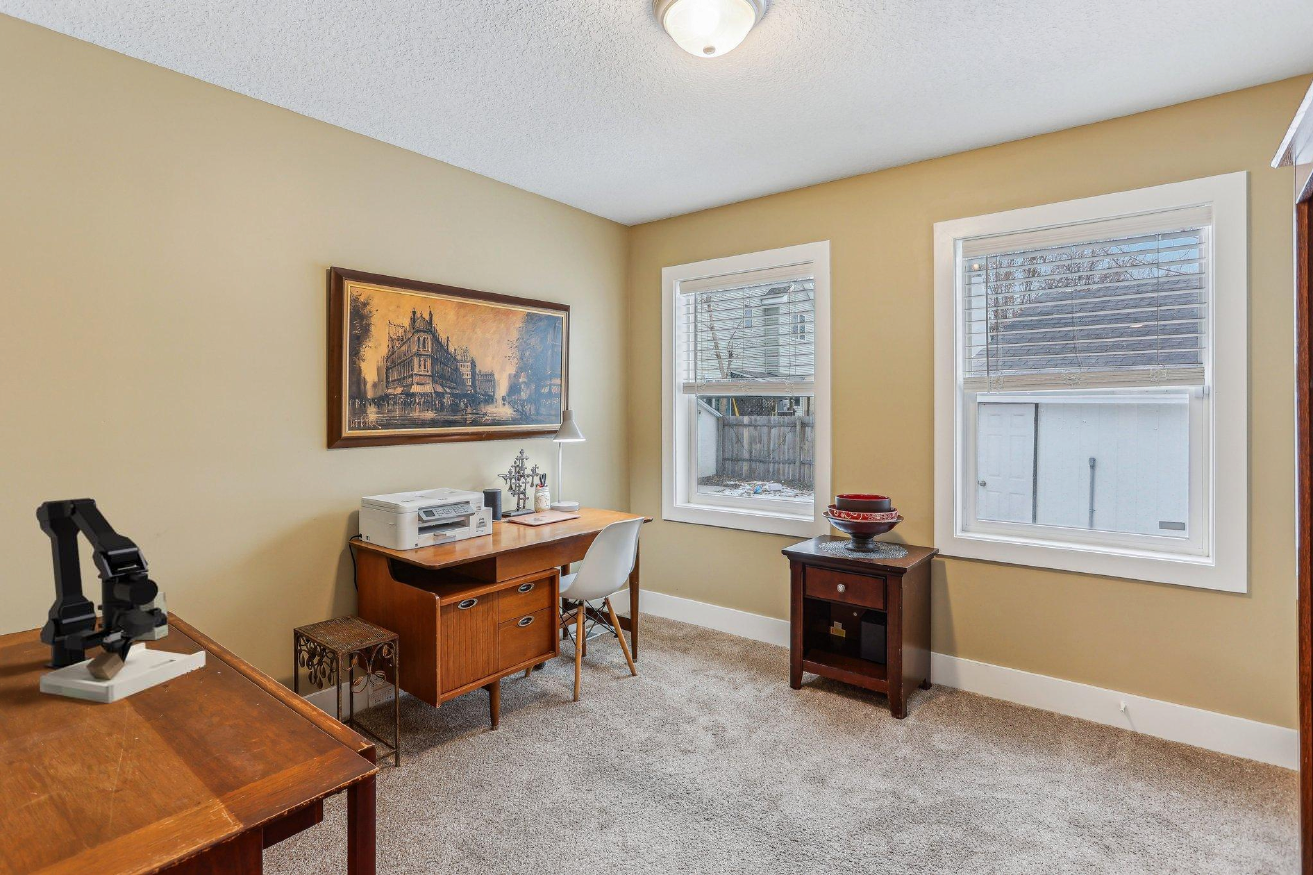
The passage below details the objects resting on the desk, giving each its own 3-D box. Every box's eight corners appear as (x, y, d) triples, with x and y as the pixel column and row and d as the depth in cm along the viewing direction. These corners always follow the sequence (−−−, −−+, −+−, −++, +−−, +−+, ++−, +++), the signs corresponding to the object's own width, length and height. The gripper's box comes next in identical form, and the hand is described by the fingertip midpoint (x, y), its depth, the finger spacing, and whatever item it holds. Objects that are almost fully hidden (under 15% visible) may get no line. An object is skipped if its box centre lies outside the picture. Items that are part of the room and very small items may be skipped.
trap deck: (40, 691, 144) (39, 675, 144) (142, 656, 165) (142, 642, 165) (108, 703, 139) (108, 686, 139) (205, 665, 160) (205, 651, 160)
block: (94, 678, 146) (85, 666, 144) (109, 664, 150) (101, 652, 148) (110, 679, 146) (102, 667, 144) (125, 665, 149) (117, 653, 147)
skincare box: (168, 635, 181) (168, 591, 180) (155, 640, 176) (154, 595, 176) (147, 634, 181) (146, 590, 181) (133, 639, 177) (132, 594, 177)
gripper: (101, 614, 139) (102, 687, 139) (185, 591, 157) (186, 656, 157) (61, 609, 142) (63, 681, 142) (148, 587, 160) (149, 651, 160)
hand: (119, 667), depth 150 cm, fingers closed
